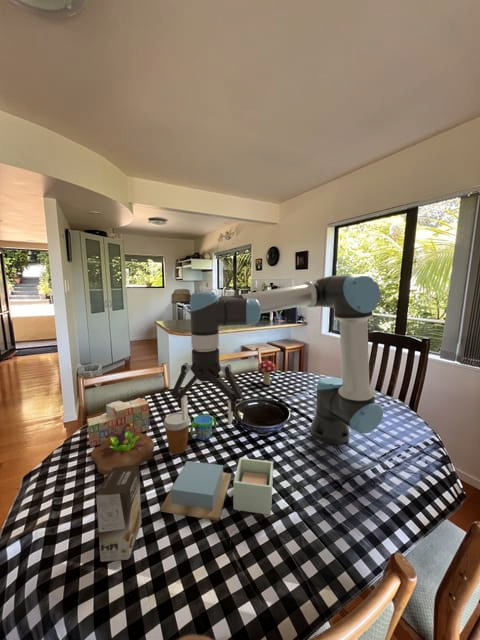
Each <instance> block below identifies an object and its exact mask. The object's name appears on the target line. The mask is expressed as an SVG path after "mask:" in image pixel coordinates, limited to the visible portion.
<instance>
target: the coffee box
mask: <svg viewBox="0 0 480 640" xmlns="http://www.w3.org/2000/svg"><path fill="white" fill-rule="evenodd" d="M139 469H140V465H128V466H121V467H113V468H112V470H111V471H110V473H109V474H108V475H106V478H105V479H104V481H103V483H101V485H100V487H99V489H98V491H96V494H95V497H96V510H97V511H96V513H97V527H98V528H97V530H98V541H99V555H100V556H99V558H100V562H112V561H115V562H116V561H125V560H126V561H127V560H129V559H130V557H131V555H132V553H133V549H134V546H135V543H136V540H137V537H138V534H139V531H140V528H141V527H142V526H141V525H142V508H141V505H142V504H141V487H140V484H141V483H140V470H139Z"/></svg>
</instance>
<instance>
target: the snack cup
mask: <svg viewBox="0 0 480 640" xmlns="http://www.w3.org/2000/svg"><path fill="white" fill-rule="evenodd" d="M213 427H215V428H216V427H217V419H216V418H215V417H213V416H211V415H209V414H200V415H197V416H195V417H194V418H193V422H192V424H191V426H190V428H189V433H190V434H189V435H190V436H191V437H193V436H194V432H193V430H194V429H195V434H196V435H195V436H196V439H197V440H200V441H206V440H209V439H210V438H211V436H212V430H213V429H212V428H213Z"/></svg>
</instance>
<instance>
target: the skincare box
mask: <svg viewBox="0 0 480 640" xmlns="http://www.w3.org/2000/svg"><path fill="white" fill-rule="evenodd" d="M121 403H125V402H124V401H121V400H116V401H113V402H110V403H108V404H107V403H106V405H105V406H106V407H105V408H106V414H110V413H113V405H117V404H121Z"/></svg>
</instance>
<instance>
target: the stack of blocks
mask: <svg viewBox="0 0 480 640" xmlns="http://www.w3.org/2000/svg"><path fill="white" fill-rule="evenodd" d="M149 405H150V404H149V402H148V401H147V400H146V398H144V397H143V398H140V399H134V400H133V399H132V400H129V401H125V402H124V403H121V404H117V405H113V413H110V414H107V413H106V414H102V415H101V414H100V415H98V416H94V417H90V418H87V420H86V421H87V435H88V441H89V447H90V448H93V447H95V446H98V445H99V446H100V445H101V444H102V443H103V442H105V441H109V440H110V438H111V437H114V438H117V437H116V436H115V435H109V434H110V433H116V434H118V435H122V430H123V428H124V426H125V425H126V424H127V423H132V424H133V426H132V427H128V426H126V428H125V433H126V432H128V431H129V432H130V433H138V432H140V433H143V432H145V431H146V432H147V431H150V409H149V408H150V407H149ZM107 435H109V437H108V439H107V440H105V439H104V438H105V436H107Z"/></svg>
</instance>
